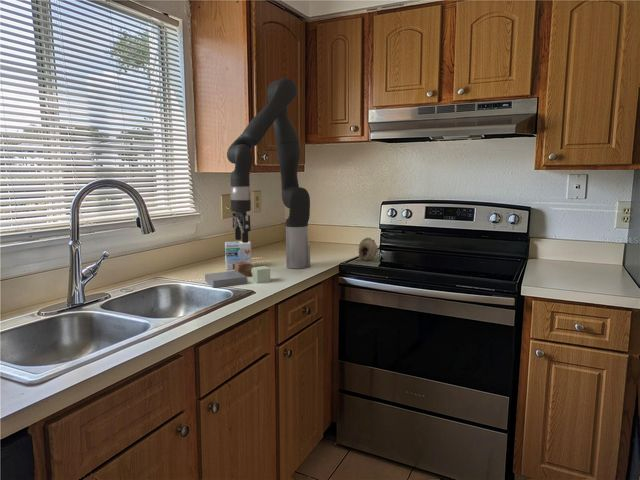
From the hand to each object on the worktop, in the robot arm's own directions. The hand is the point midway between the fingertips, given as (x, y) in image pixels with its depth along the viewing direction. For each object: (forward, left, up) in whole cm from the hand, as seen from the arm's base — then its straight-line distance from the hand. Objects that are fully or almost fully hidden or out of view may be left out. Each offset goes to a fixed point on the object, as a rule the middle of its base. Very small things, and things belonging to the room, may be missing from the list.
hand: (241, 241), depth 172 cm
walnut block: (0, 0, -14) cm, 14 cm away
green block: (-3, +12, -14) cm, 18 cm away
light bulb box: (-3, -15, -14) cm, 21 cm away
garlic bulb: (-59, -2, -14) cm, 61 cm away
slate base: (+9, +7, -13) cm, 18 cm away
